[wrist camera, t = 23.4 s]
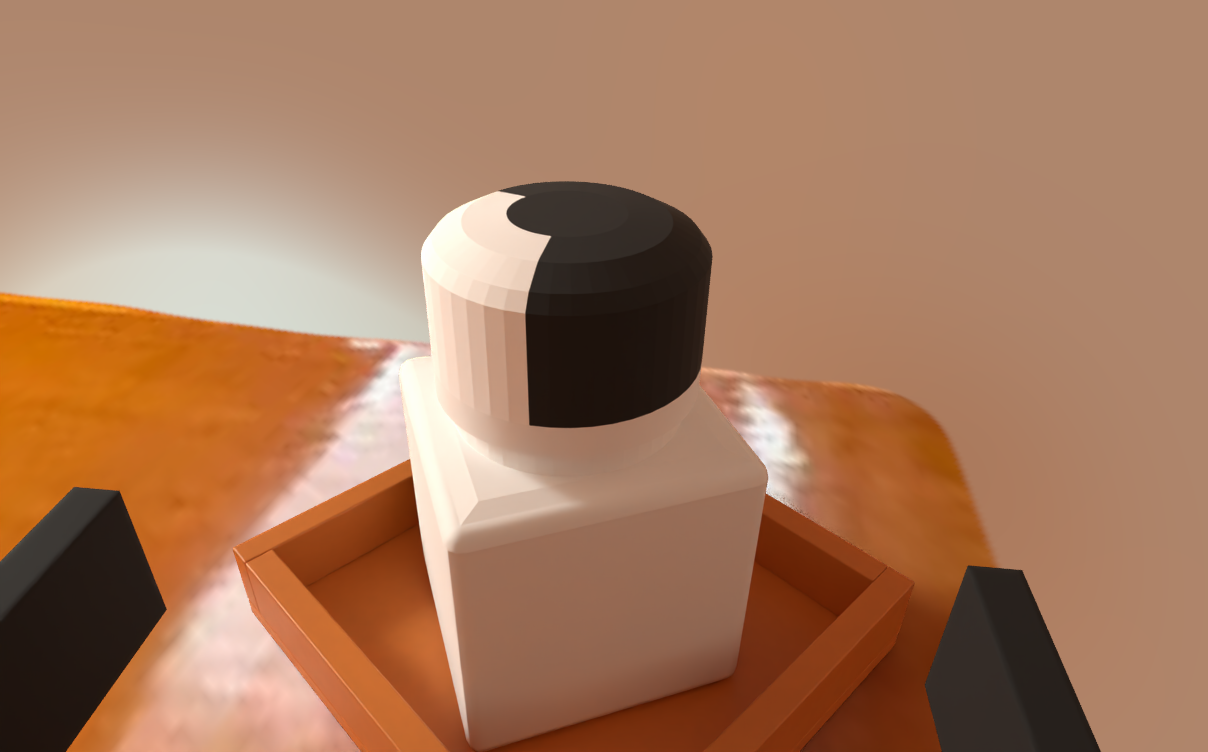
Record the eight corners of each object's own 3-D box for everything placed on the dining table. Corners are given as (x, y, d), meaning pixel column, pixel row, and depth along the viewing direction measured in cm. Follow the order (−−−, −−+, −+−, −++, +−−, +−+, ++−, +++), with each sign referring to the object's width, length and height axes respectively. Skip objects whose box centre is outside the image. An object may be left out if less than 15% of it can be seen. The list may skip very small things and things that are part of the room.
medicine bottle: (639, 505, 27) (661, 145, 21) (740, 680, 22) (812, 262, 15) (422, 554, 25) (369, 171, 19) (470, 762, 19) (418, 318, 13)
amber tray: (895, 646, 23) (915, 581, 22) (565, 1015, 16) (564, 954, 14) (571, 433, 31) (571, 376, 30) (252, 612, 24) (231, 547, 22)
